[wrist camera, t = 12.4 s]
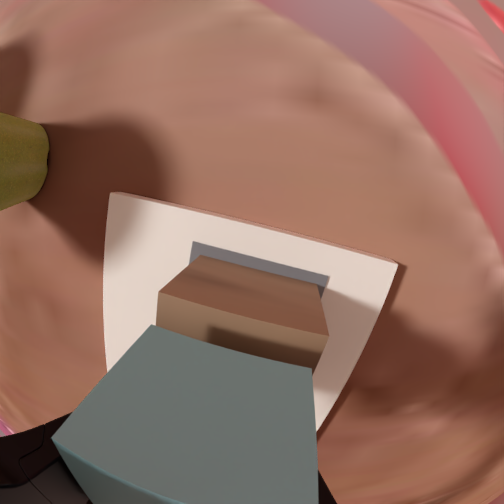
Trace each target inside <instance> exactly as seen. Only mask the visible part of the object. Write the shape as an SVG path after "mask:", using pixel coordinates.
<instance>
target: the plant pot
mask: <svg viewBox="0 0 504 504" xmlns="http://www.w3.org/2000/svg"><path fill="white" fill-rule="evenodd" d="M48 151H49V141H48V137H47V134H46V132H45V130H44V128H43V127H42V126H41V125H40V124H38V123H35V122H31V121H28V120H25V119H22V118H18V117H15V116H12V115H8V114H5V113H1V112H0V211H1V210H3V209H6V208H8V207H11V206H13V205H16V204H18V203H21V202H24V201H26V200H29V199H31V198H33V197H34V196H35V195H36V194H37V193H38V192H39V190H40V189H41V187H42V185H43V183H44V180H45V178H46V175H47V170H48V168H47V155H48Z"/></svg>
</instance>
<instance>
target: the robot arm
mask: <svg viewBox="0 0 504 504" xmlns="http://www.w3.org/2000/svg"><path fill="white" fill-rule="evenodd" d="M72 413H73V412H71V413H69V414H67V415H64V416H62V417H60V418H57V419H55V420H53V421H50V422H48V423H46V424H45V425H44V424H43V425H40V426H38V427H35V428H32V429H30V430H27V431H24V432H20V433H16V434H13V435H8V436H4V437H0V504H93V503H92V502H91V500H90V499H89V498H88V496H87V495H86V493H85V492H84V491H83V489H82V488H81V486H80V485H79V483H78V482H77V480H76V479H75V477H74V476H73V474H72V473H71V471H70V470H69V468H68V466H67V465H66V463H65V461H64V460H63V458H62V456H61V455H60V453H59V451H58V449H57V447H56V446H55V444H54V442H53V440H52V438H51V437H52V436H53V435H54V434H55V433H56V431H57V430H58V429H59V428H60V427H61V426H62V424H63V423H64V422H65V421H66V420H67V418H68V417H69V416H70V415H71V414H72ZM318 504H337V503H336V501H335V499H334V498H333V496H332V494H331V492H330V490H329V489H328V487H327V485H326V483H325V481H324V480H323V478H322V476H321V474H320V472H319V470H318Z"/></svg>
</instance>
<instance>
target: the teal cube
mask: <svg viewBox="0 0 504 504" xmlns="http://www.w3.org/2000/svg"><path fill="white" fill-rule="evenodd" d="M51 438H52V440H53V442H54V444H55V446H56V447H57V449H58V451H59V453H60V455H61V456H62V458H63V460H64V461H65V463H66V465H67V466H68V468H69V470H70V471H71V473H72V474H73V476H74V477H75V479H76V480H77V482H78V483H79V485H80V486H81V488H82V489H83V491H84V492H85V493H86V495H87V496H88V498H89V499H90V500H91V502H92V503H93V504H318V462H317V439H316V421H315V405H314V392H313V379H312V368H307V367H302V366H297V365H292V364H288V363H283V362H279V361H274V360H270V359H266V358H262V357H258V356H254V355H250V354H246V353H242V352H238V351H235V350H231V349H227V348H224V347H220V346H217V345H213V344H210V343H207V342H203V341H200V340H197V339H194V338H190V337H187V336H184V335H181V334H178V333H175V332H172V331H169V330H166V329H163V328H161V327H158V326H155V325H152V324H151V325H150V326H149V327H148V328H147V329H146V330H145V332H144V333H143V334H142V335H141V336H140V337H139V338H138V339H137V340H136V341H135V342H134V344H133V345H132V346H131V347H130V348H129V349H128V350H127V351H126V352H125V354H124V355H123V356H122V357H121V358H120V359H119V360H118V361H117V362H116V364H115V365H114V366H113V367H112V368H111V369H110V370H109V371H108V373H107V374H106V375H105V376H104V377H103V378H102V379H101V380H100V382H99V383H98V384H97V385H96V386H95V387H94V388H93V390H92V391H91V392H90V393H89V394H88V395H87V396H86V398H85V399H84V400H83V401H82V402H81V403H80V404H79V406H78V407H77V408H76V409H75V410H74V411H73V413H72V414H71V415H70V416H69V417H68V418H67V420H66V421H65V422H64V423H63V424H62V426H61V427H60V428H59V429H58V430H57V431H56V433H55V434H54V435H53V436H52V437H51Z"/></svg>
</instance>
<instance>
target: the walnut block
mask: <svg viewBox="0 0 504 504" xmlns="http://www.w3.org/2000/svg"><path fill="white" fill-rule="evenodd" d="M156 326H158V327H161V328H163V329H166V330H169V331H172V332H175V333H178V334H181V335H184V336H187V337H190V338H194V339H197V340H200V341H203V342H207V343H210V344H213V345H217V346H220V347H224V348H227V349H231V350H235V351H238V352H242V353H246V354H250V355H254V356H258V357H262V358H266V359H270V360H274V361H279V362H283V363H288V364H292V365H297V366H302V367H307V368H312V376H313V373H314V371H315V369H316V367H317V364H318V362H319V360H320V358H321V355H322V353H323V351H324V348H325V346H326V343H327V341H328V338H329V332H328V328H327V324H326V319H325V315H324V311H323V307H322V303H321V299H320V295H319V291H318V287H317V284H315V283H311V282H307V281H302V280H298V279H294V278H290V277H286V276H282V275H278V274H274V273H270V272H266V271H262V270H258V269H254V268H250V267H246V266H242V265H238V264H234V263H231V262H227V261H223V260H219V259H215V258H211V257H207V256H203V255H200V256H198V257H197V258H196V259H195V260H194V261H193V262H192V263H190V264H189V265H188V266H187V267H186V268H185V269H183V270H182V271H181V272H180V273H179V274H178V275H177V276H175V277H174V278H173V279H172V280H171V281H170V282H169V283H167V284H166V285H165V286H164V287H163V288H162V289H161V290H159V291H158V300H157V313H156Z"/></svg>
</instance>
